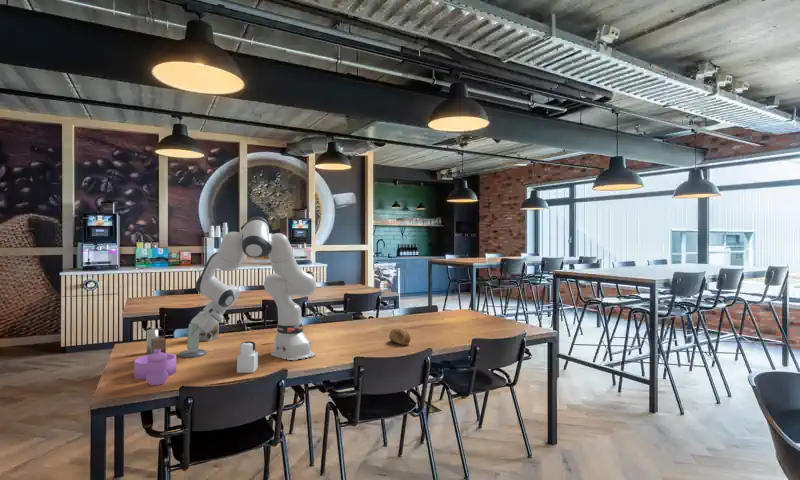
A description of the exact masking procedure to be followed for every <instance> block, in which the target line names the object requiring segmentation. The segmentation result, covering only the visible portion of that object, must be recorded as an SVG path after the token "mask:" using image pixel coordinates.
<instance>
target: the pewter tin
mask: <svg viewBox="0 0 800 480" xmlns="http://www.w3.org/2000/svg"><path fill="white" fill-rule="evenodd" d="M159 333H160V331H159V328H152V329H147V330H146V354H147V355H150V354H151V339H153V338H160V336H159V335H160V334H159Z"/></svg>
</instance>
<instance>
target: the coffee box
mask: <svg viewBox="0 0 800 480" xmlns="http://www.w3.org/2000/svg"><path fill="white" fill-rule="evenodd" d="M202 311H204V310H203V309H202V310H199V313H200V312H202ZM199 313H198V314H199ZM219 324H220V322H218V324H217V325H216V326H215V327H214V328H213V329H212V330H211V331H209V332H205V331H202V332H201V333H200V335H199V342H200V341H203V342H209V341H213V340H216V339H219V334H220V332H219V330H220V325H219Z"/></svg>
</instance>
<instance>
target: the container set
mask: <svg viewBox="0 0 800 480" xmlns="http://www.w3.org/2000/svg"><path fill="white" fill-rule="evenodd" d="M176 372H177V355H176V354H174V353H166V354H165V353H163V352H161V349H155V350H154V353H152V354H147V355H146V354H145V355H143V356H140V357H137V358H135V359H134V360H133V377H135V378H134V379H136V378H137V379H136V380H141V379H146V380H145V381H146V383H148V384H149V386H152V385H156V386H161V385H164V384H165V382H167V380H168V379H169V377H170V376H172V375H174V374H176ZM163 383H164V384H163ZM160 384H161V385H160Z"/></svg>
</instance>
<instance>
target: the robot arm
mask: <svg viewBox="0 0 800 480" xmlns="http://www.w3.org/2000/svg"><path fill="white" fill-rule="evenodd" d="M218 248H219V249H218V251H216V252H214V253H213V254H212V255H210V256H209V258H208V259H207V262H206V263H205V265H204V268H203V270H202V271H201V274H200V276H199V277H198V278H197V280H196V282H195V289H196V292H198V293H200V294H202V295H203V296H204V297H206V298H207V299H209V300H210V302H208V304H207V305H206V306H204V308H203V309H202V310H204V311H202V310H201V311H202V312H200V313H197V315H195V316H194V317H193V318H192V319H191V320H190V324H192V323H196V324H198V327H199V328H198V329H197V330H196V331H195V332H193V333H192V336H193V337H196V336H197V335H198V334H199V333H201V332H202V331H205V332H209V331H211V330H212V329H213V328H214V327H215V326H216V325H217V324H218V322H219V323H221V322H222V320H223V319H224V314H225V313H226V311H227V310H228V309H229V308H231V306H233V304H235V302H236V301H237V300H238V298H239V296H240V295H241V291H240V289H239V288H238V287H237V285H235V284H232V283H229V284H225V283H224V282H222V281H221V280H219V279H218V278H217V277H216V276H215V273H216V270H217V269H219V270H221V271H225V272H228V271H230V272H231V271H235V270H236V269H237V270H238V268H240V266H241V265H242V262H243V261H244V257H245V255H246V257H250V258H261V257H262V258H263V257H266V256H267V255H268V259H269V261H270V265H271V268H272V270H273V272H274V273H272V274H268V275H267V276H266V277H265V279H264V280H263V281H264V282H263V287H264V290H265V292H266V293H267V294H268V295H269V296H271V297H272V299H273V301H274V303H275V304H276V309H277V318H278V319H277V325H276V326H277V327H276V332H277V334H276V335H275V337H274V340H273V341H274V343H273V351H271V353H270V354H271V356H272V357H276V358H280V359H283V360H286V359H287V360H286V361H289V360H293V361H299V360H298V359H302V360H306V359H305V358H307V359H310V358H309V357H311V358H313V356H314V357H316V353H315V352H313V351H312V350H311V344H312V343H311V340H310V339H308V337H307V336H306V335H305V333H304V326H303V323H302V308H301V306H300V305H299V304H298V303H296V302H294V300H293V299H292V298H291V296H292V297H306V296H311V295H312V294H314V292H315V291H316V288H317V281H316V279H315V276H314V275H312V274H309V273H307V272H306V271H305V270H303V269H302V268H301V267H300V265H299V264H298V263H297V262H298V261H296V258H295V255H294V250H293V247H292V245H291V243H290V241H289V239H288V237H287V235H285V234H284V233H280V232H277V233H276V232H275V233H270V224H269V223H268V220H267V219H266V218H265V217H262V216H259V215H258V216H257V215H256V216H253V217H250V218H249V219H248V220H247V221H246V222H245V223H244V224H243V225H241V226H240V231H229V232H228V233H226V234H225V235H224V237H222V241H221V242H220V244H219V247H218Z"/></svg>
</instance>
